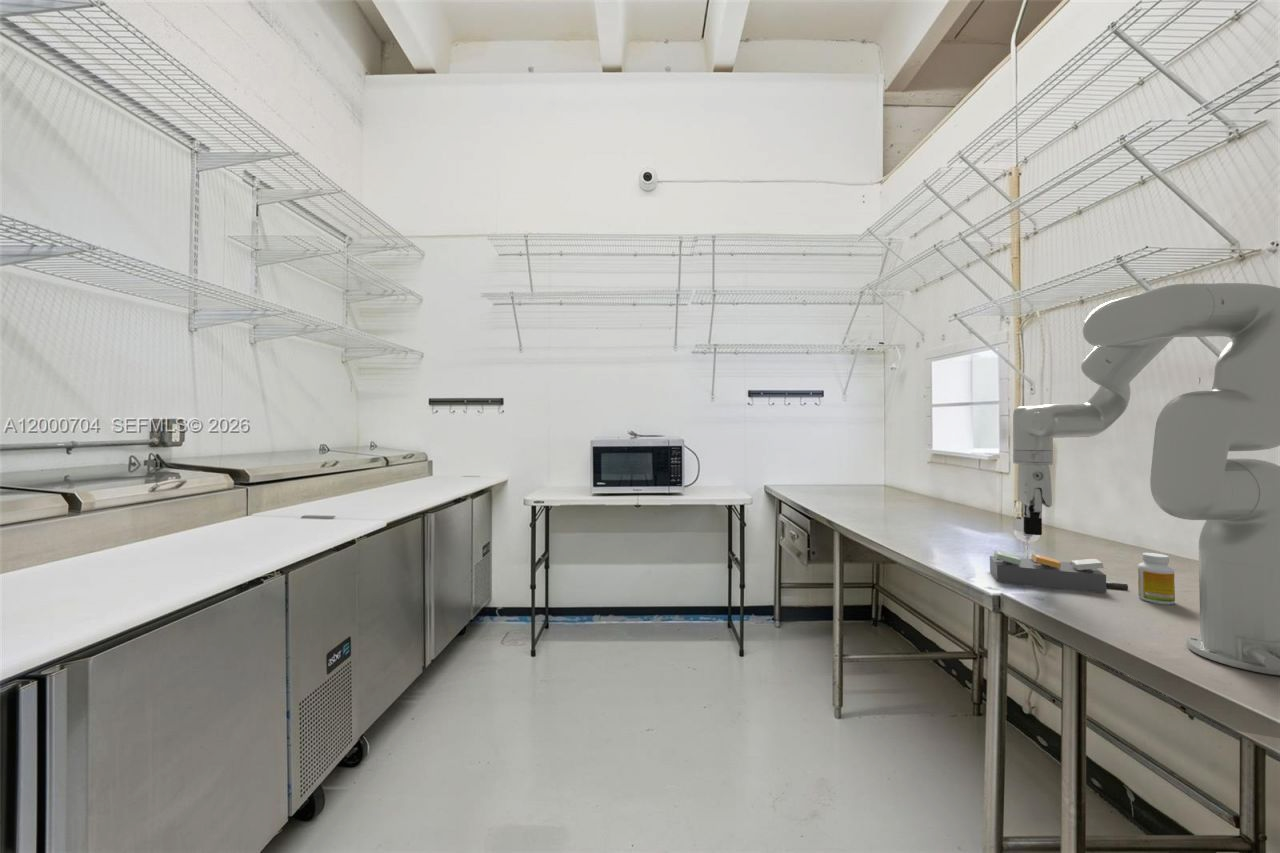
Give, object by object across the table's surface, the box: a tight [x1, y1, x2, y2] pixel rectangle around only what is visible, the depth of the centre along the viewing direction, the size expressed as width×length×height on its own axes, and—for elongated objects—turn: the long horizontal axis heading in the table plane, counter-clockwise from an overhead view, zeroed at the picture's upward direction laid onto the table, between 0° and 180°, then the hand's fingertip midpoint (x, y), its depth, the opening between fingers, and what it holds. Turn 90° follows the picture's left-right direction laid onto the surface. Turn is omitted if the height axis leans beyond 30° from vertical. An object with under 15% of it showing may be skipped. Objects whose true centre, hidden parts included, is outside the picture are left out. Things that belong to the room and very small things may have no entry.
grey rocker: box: [1070, 558, 1104, 570], centre depth 115 cm, size 4×5×1 cm
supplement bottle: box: [1137, 552, 1176, 605], centre depth 106 cm, size 5×5×10 cm
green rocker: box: [993, 550, 1021, 565], centre depth 122 cm, size 4×5×1 cm
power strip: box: [989, 555, 1129, 594], centre depth 119 cm, size 10×25×4 cm, turn 63°
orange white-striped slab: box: [1030, 553, 1061, 568], centre depth 119 cm, size 4×5×1 cm
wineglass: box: [1013, 516, 1041, 559], centre depth 137 cm, size 6×6×12 cm
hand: (1032, 533), depth 120 cm, fingers closed
